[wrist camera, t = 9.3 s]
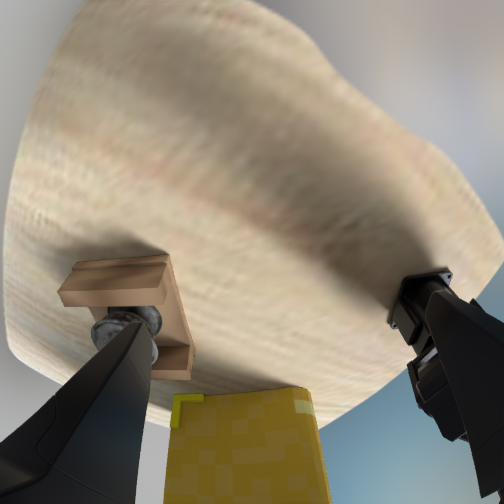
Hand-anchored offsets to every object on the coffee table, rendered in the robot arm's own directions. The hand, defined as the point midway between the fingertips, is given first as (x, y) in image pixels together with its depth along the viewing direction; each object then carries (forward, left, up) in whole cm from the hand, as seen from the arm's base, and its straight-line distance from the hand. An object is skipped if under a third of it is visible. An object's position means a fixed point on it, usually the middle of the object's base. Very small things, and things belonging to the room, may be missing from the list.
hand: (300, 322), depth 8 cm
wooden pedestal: (+12, +10, -13) cm, 20 cm away
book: (+3, +27, -13) cm, 30 cm away
